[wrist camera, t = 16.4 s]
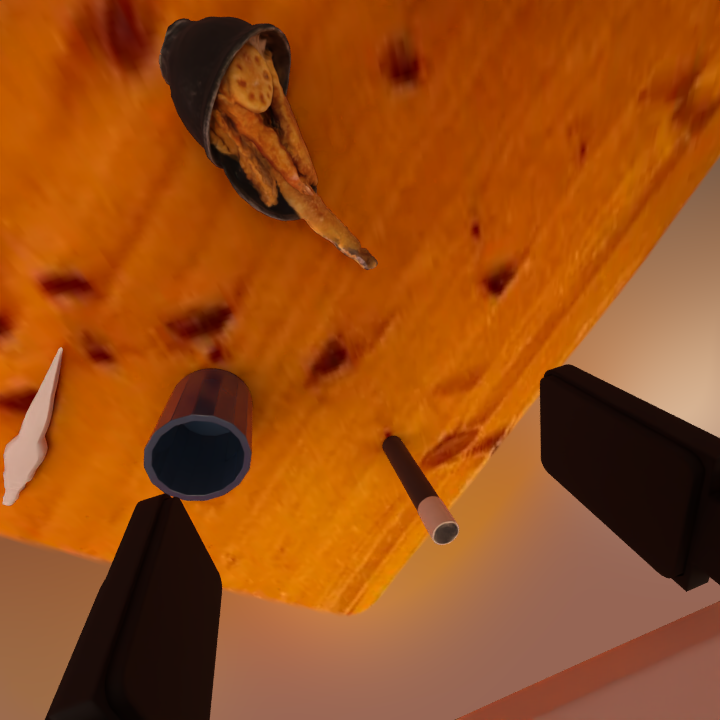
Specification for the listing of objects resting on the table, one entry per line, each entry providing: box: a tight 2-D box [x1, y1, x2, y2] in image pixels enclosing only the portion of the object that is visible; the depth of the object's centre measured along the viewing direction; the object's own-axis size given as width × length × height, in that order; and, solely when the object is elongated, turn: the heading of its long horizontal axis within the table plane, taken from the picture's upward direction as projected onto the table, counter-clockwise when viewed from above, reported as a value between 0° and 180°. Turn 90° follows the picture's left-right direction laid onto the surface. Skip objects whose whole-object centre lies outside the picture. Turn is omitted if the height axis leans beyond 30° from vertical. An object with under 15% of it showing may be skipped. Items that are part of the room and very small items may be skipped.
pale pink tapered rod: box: [3, 347, 63, 506], centre depth 31 cm, size 15×3×2 cm, turn 153°
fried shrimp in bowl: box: [159, 17, 378, 270], centre depth 26 cm, size 9×11×18 cm
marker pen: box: [383, 436, 459, 545], centre depth 36 cm, size 2×2×13 cm
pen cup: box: [144, 369, 253, 501], centre depth 31 cm, size 7×7×9 cm
